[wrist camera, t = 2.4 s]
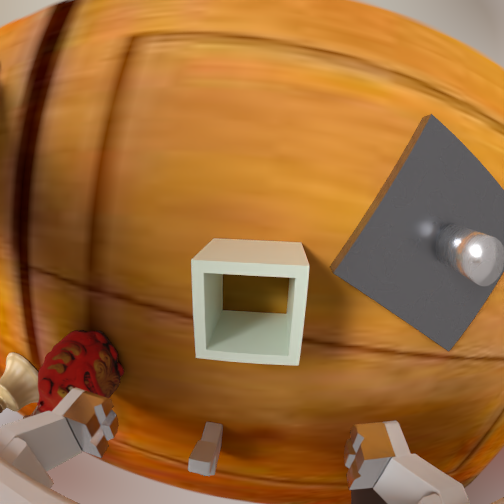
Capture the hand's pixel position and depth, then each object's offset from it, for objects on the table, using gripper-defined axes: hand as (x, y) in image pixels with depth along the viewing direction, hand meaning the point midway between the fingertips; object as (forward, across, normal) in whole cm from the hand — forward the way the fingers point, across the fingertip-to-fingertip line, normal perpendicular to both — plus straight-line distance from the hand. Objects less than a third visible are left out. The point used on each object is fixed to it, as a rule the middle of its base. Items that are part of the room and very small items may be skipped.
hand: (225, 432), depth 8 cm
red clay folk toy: (+15, +16, +9) cm, 24 cm away
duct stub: (+15, -15, -4) cm, 21 cm away
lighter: (+15, +4, +16) cm, 22 cm away
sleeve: (+15, 0, 0) cm, 15 cm away
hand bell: (+15, +31, +17) cm, 38 cm away
